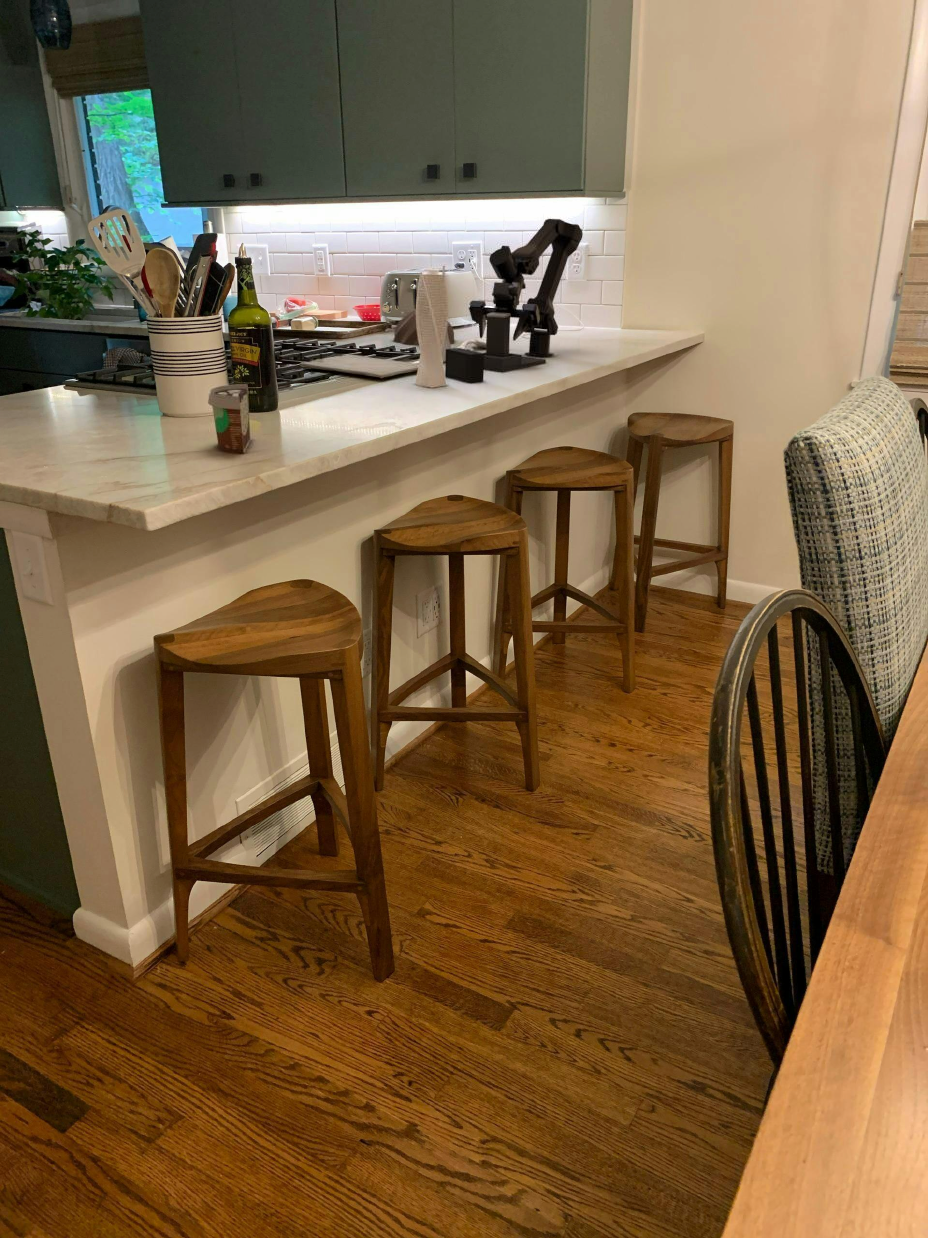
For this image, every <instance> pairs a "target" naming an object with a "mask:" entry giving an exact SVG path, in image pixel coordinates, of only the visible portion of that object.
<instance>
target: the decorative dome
mask: <svg viewBox="0 0 928 1238" xmlns="http://www.w3.org/2000/svg"><path fill="white" fill-rule="evenodd" d="M447 323H448V324H449V326H448V338H449V341H450V345H453V344H454V342H455V331H454V328H453V326H452V325H451V323H450V322H449V320H447ZM393 342H395V343H398V344H402V345H410V346H411V345H413V346H419V342H418V335H417V327H416V309H413V310H412V311H410V312H408V313H407V314H406V315H405V316H403V317H402V318H401V319H400V320H399V321H398V323H397V324H396V326H395V329H394V337H393Z"/></svg>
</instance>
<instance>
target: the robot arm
mask: <svg viewBox="0 0 928 1238" xmlns="http://www.w3.org/2000/svg"><path fill="white" fill-rule="evenodd" d="M582 239H583V229H582V228H581V227H580V225H579V224H577V223H570V222H567V221H564V220H562V219H561V218H547V219H545V220H544V222H543V224H542V226H541V227H540V228H539V230H538V231H537V232H535V234H534V235H533V236H532V237H531V239H530V240H529V241H528V242H527V243H526V244H525V245H523V246H520V247H518V248H516V249H515V250H513V251H511V248H510V246H509V245H501V247H500V248H498V249H496V250H494V251H493V252H492V253H491V254H490V255H489V257H488V258H489V259H488V261H489V263H490V265H491V267H492V269H493V271H494V273H495V275H496V277H497V278H498V279H499V280H502V281H501V282H497V281H496V282H495V281H494V282H493V284H492V291H491V296H492V297H493V299H492V303H493V305H495V306H488V305H487V304H486V301H485V300H471V301H470V302H469V305H468V310H469V314H470V317H471V318H470V319H471V321H472V322H475V324H477V325H478V332H479V333H478V334H479V339H481V338H484V335H485V331H486V328H487V314H489V313H492V312H495V313H510V318H513V319H518V320H517V324H516V325H515V329H514V331H513V337H512V340H513V342H516V340H517V339H518V338H519V337H520V336H521V335H522V334H524V333H525V334H527V333H528V334H529V346H528V352H524V355H526V356H533V357H539V358H545V357H549V356H554V354H555V353H554V352H550V348H551V347H550V346H551V336H556V335H557V334H558V330H559V326H558V323H557V321H556V318H555V314H556V311H555V307H554V304H553V303H554V299H555V297H556V294H557V291H558V288H559V285H560V282H561V280H562V277H563V273H564V271H565V268H566V265H567V262H568V259H569V258H570V256H571V255H572V254H574V252H576V251H577V249H579V248H578V247H579V246H580V243H581V241H582ZM550 246H551V247H552V251H551V254H550V257H549V260H548V264H547V265H546V268H545V271H544V274H543V277H542V279H541V283H540V286H539V289H538V292H537V294H536V296H535V297H534V298H533V297H530V298H528V300H527V301H526V303H522V306H521V309H519V308H518V306H519V305H520V297H521V293H522V290H525V289H526V288H527V286H526V283H525V277H524V276H532V275H534V274H535V273H536V271H537V270H538V267H539V266H540V258H541V256H542V255H543V254H544V253H545V252H546V250H547V249H548V248H549V247H550Z"/></svg>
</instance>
